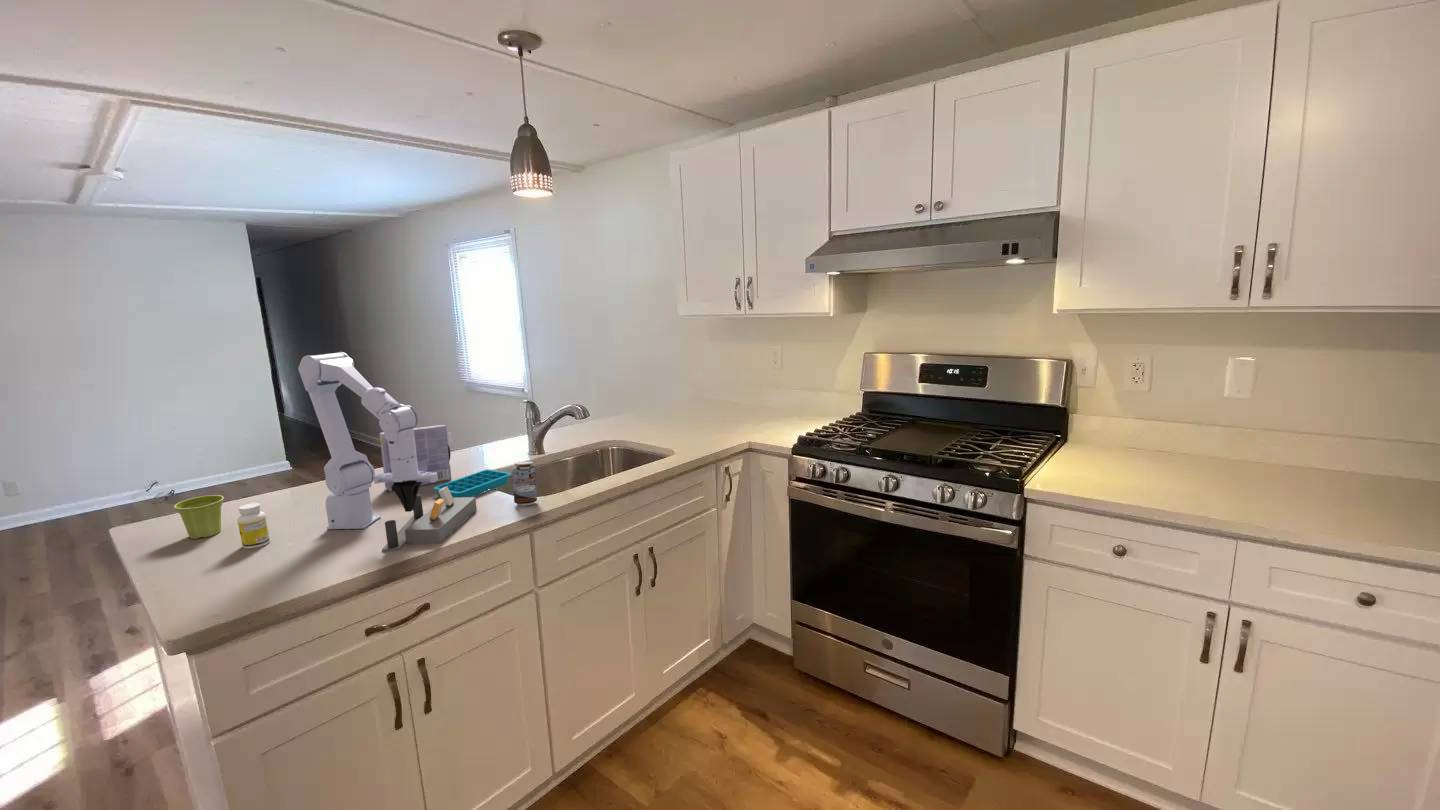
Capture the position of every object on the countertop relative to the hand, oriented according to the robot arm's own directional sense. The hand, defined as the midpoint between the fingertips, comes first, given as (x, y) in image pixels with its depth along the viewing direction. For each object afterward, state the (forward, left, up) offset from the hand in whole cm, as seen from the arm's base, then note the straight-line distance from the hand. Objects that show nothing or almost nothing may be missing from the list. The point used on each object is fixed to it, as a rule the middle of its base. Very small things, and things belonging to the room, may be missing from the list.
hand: (409, 510), depth 147 cm
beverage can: (+22, +19, -6) cm, 30 cm away
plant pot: (-53, +2, -6) cm, 53 cm away
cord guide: (-1, 0, -6) cm, 6 cm away
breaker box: (+6, +4, -6) cm, 9 cm away
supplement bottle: (-35, -5, -6) cm, 36 cm away
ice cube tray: (+2, +33, -7) cm, 34 cm away
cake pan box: (-17, +39, -6) cm, 43 cm away
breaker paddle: (+6, 0, -2) cm, 6 cm away
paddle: (+6, +9, -2) cm, 11 cm away
